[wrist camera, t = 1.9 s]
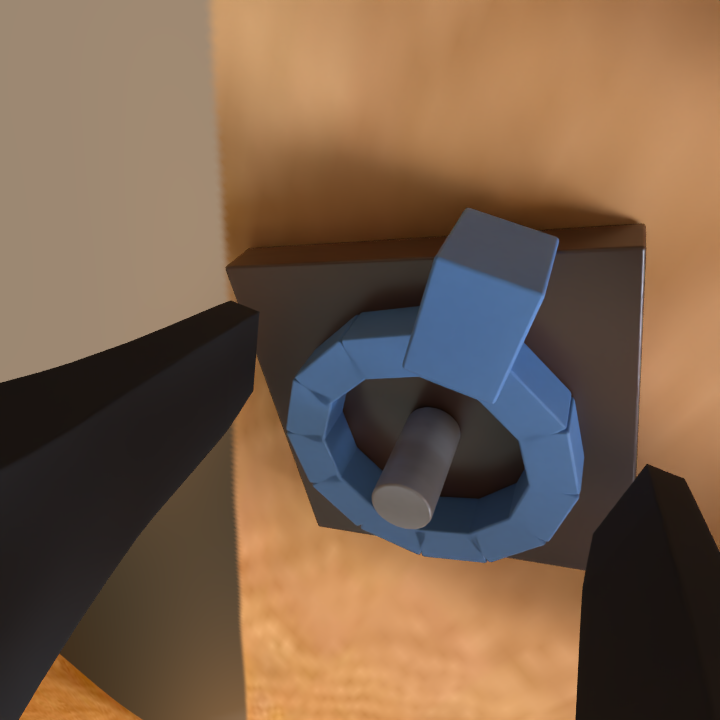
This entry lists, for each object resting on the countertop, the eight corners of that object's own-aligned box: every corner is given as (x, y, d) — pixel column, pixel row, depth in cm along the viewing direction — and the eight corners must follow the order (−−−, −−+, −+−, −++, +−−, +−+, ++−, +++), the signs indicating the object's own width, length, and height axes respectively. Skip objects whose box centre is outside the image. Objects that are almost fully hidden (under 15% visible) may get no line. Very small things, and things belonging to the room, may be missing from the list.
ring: (518, 559, 21) (503, 635, 19) (295, 461, 23) (257, 520, 20) (700, 283, 13) (712, 355, 11) (345, 164, 15) (292, 206, 13)
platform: (632, 544, 21) (630, 680, 17) (332, 500, 26) (279, 598, 22) (645, 222, 15) (647, 324, 11) (247, 247, 20) (154, 323, 16)
